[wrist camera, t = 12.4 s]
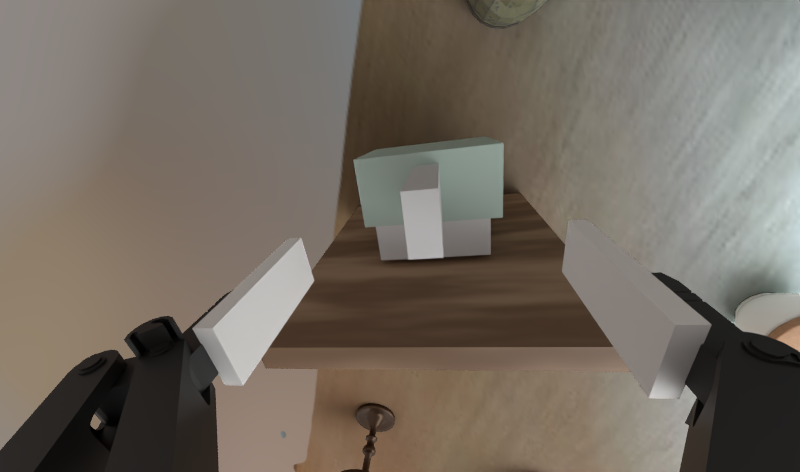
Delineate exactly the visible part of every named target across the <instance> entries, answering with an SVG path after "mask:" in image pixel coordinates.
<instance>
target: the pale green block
mask: <svg viewBox="0 0 800 472" xmlns="http://www.w3.org/2000/svg"><path fill="white" fill-rule="evenodd" d="M503 157H504V143H502V142H500V141H497V140H494V139H492V138H489V137H486V136H485V137H476V138H468V139H459V140H451V141H442V142H434V143H426V144H417V145H409V146H400V147H392V148H383V149H375V150H373V151H371V152H369V153H367V154H365V155H363V156H361V157H358V158H356V159H354V160H353V162H354V168H355V174H356V179H357V185H358V190H359V196H360V202H361V207H362V213H363V219H364V224H365V227H376V231H377V238H378V244H379V250H380V256H381V260H398V259H409V260H411V259H430V258H443V257H454V256H473V255H491V218H502V217H503Z"/></svg>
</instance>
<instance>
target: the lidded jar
mask: <svg viewBox="0 0 800 472" xmlns="http://www.w3.org/2000/svg"><path fill="white" fill-rule="evenodd" d="M735 317H736V318H735V326H737V327H738V328H739V329H740V330H742V331H743V332H752V333H756V334H760V335H764V336H768V337H770V338H773V339H776V340H778V341H781V342H783V343H785V344H787V345H789V346H791V347H792V348H794V349H796V350H798V351H799V352H800V294H792V293H761V294H757V295H754V296H751V297H749V298H747V299H746V300H744V301H743V302H742V303H740V304H739V306H738V307H737V309H736V311H735Z"/></svg>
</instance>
